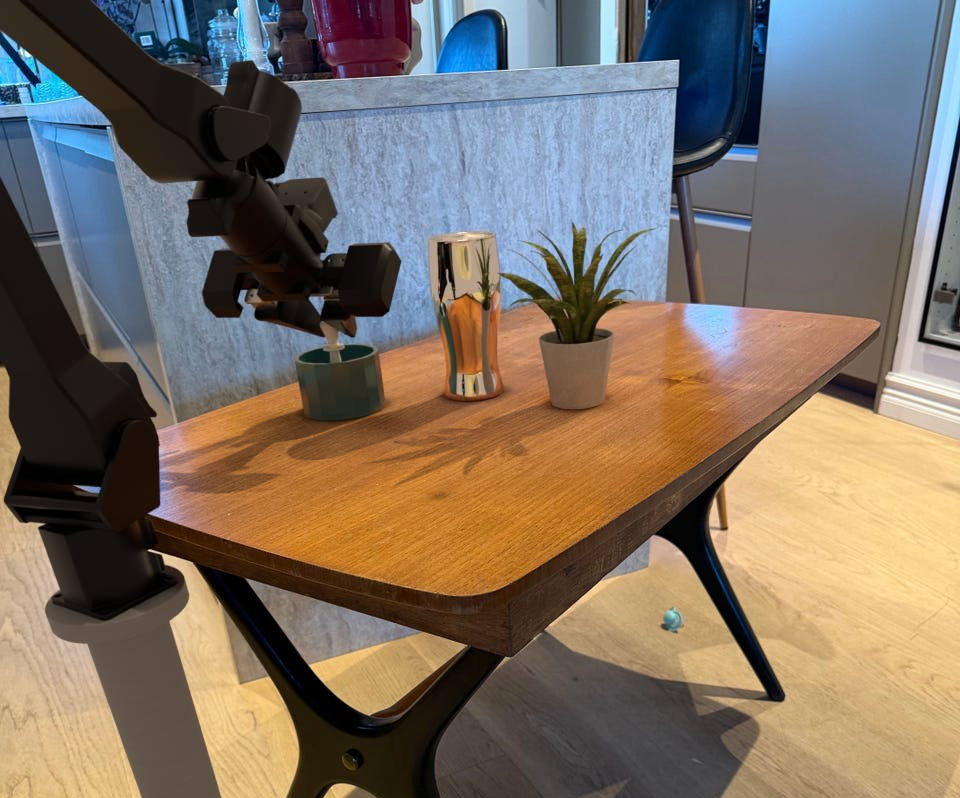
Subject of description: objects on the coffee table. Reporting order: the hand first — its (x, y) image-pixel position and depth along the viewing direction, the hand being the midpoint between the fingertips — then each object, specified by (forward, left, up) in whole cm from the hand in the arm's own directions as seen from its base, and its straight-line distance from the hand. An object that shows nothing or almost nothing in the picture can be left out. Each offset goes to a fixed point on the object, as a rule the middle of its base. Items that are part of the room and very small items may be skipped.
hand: (340, 333), depth 89 cm
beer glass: (+8, -10, -7) cm, 15 cm away
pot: (-1, 0, -7) cm, 7 cm away
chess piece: (-2, 0, -7) cm, 7 cm away
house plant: (+10, -22, -7) cm, 25 cm away
